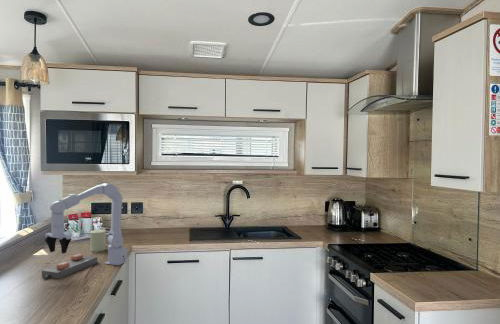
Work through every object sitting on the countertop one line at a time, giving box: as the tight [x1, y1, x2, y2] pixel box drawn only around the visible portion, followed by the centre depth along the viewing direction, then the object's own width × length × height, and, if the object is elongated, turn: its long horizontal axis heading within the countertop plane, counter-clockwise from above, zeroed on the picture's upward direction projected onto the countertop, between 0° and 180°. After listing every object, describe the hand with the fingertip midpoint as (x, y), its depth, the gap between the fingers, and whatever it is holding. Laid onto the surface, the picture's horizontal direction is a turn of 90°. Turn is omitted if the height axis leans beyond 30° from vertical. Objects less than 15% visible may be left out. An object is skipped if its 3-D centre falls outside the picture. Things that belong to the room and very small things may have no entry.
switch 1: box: [56, 261, 70, 269], centre depth 172 cm, size 3×5×2 cm, turn 162°
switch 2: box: [70, 253, 84, 260], centre depth 185 cm, size 3×5×2 cm, turn 162°
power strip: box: [41, 255, 98, 280], centre depth 177 cm, size 10×29×3 cm, turn 162°
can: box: [89, 229, 107, 253], centre depth 215 cm, size 9×9×12 cm
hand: (58, 252), depth 173 cm, fingers open, 7 cm apart
